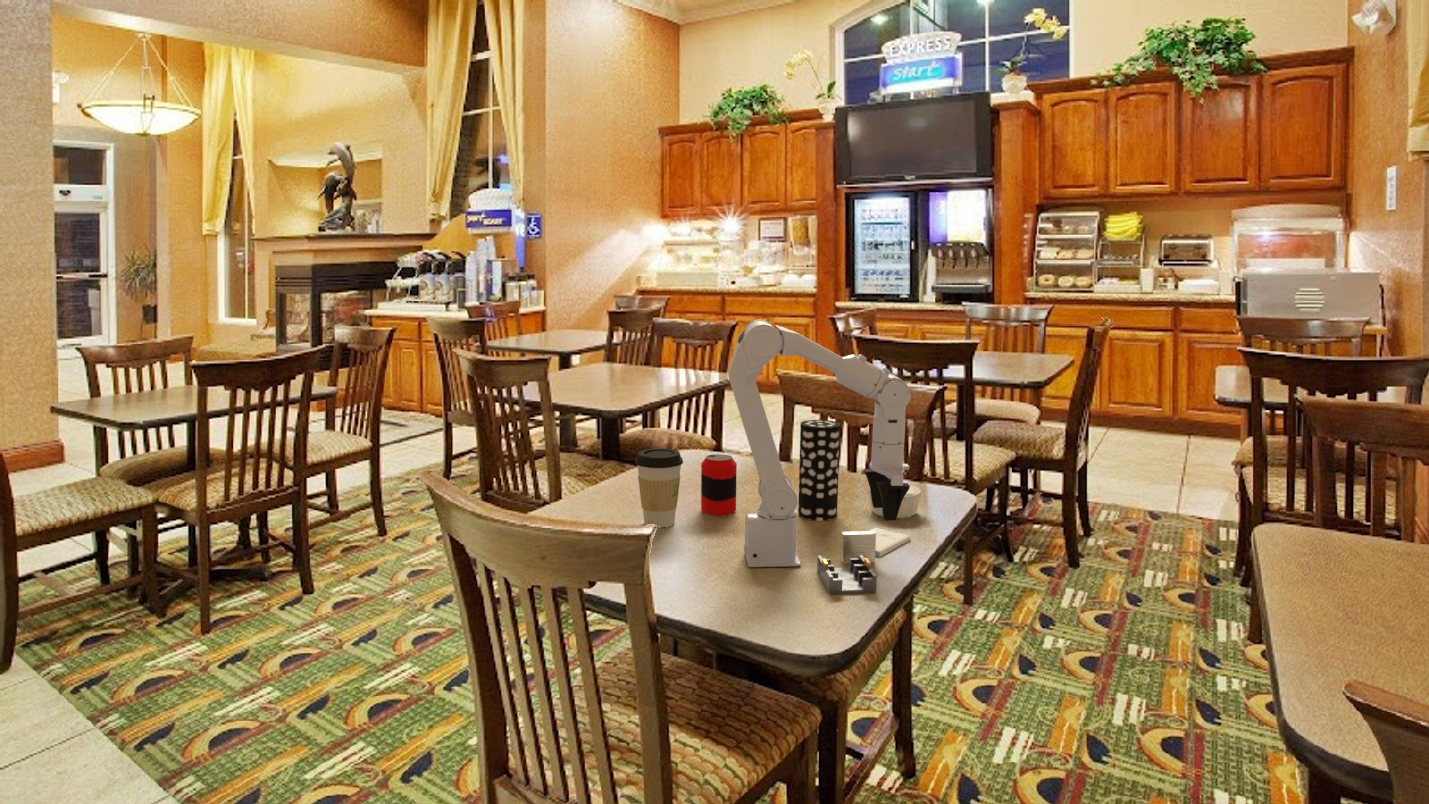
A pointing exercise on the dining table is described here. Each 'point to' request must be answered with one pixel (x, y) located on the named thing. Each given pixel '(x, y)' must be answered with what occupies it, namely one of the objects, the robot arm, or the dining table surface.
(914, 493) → the ramekin
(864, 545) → the grey flat square block
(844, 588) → the rack
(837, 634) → the dining table surface
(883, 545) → the external hard drive
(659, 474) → the coffee cup
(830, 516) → the spotted tube
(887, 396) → the robot arm
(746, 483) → the dining table surface
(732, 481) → the soda can
